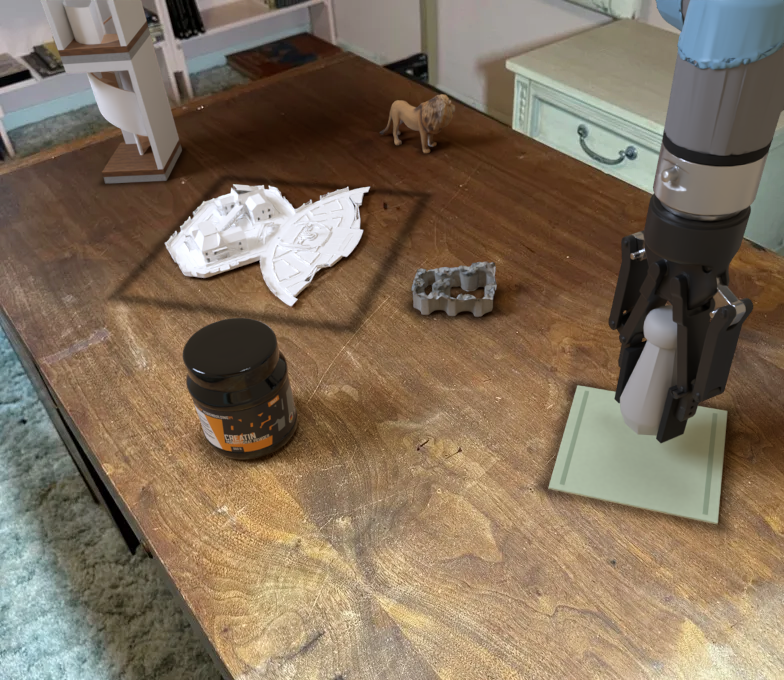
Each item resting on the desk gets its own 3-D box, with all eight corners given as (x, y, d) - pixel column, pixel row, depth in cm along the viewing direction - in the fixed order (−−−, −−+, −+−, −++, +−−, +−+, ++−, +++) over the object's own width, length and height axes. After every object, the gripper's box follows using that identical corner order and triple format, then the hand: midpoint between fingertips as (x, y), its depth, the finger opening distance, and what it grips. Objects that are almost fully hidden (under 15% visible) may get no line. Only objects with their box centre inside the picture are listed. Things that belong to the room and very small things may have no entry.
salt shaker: (678, 444, 74) (710, 337, 65) (617, 440, 75) (640, 334, 65) (673, 403, 78) (702, 296, 69) (615, 400, 79) (636, 294, 69)
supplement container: (193, 461, 83) (161, 377, 74) (221, 396, 90) (195, 312, 81) (287, 467, 81) (266, 381, 72) (308, 400, 88) (291, 314, 80)
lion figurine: (460, 145, 131) (459, 91, 124) (444, 158, 128) (443, 103, 121) (387, 131, 137) (383, 78, 130) (371, 143, 134) (366, 89, 127)
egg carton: (498, 287, 101) (499, 260, 98) (491, 321, 96) (492, 294, 93) (419, 282, 103) (418, 255, 100) (408, 315, 98) (406, 288, 95)
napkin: (577, 387, 87) (577, 384, 86) (726, 412, 82) (727, 410, 82) (548, 489, 77) (548, 487, 76) (717, 525, 72) (717, 522, 72)
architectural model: (130, 286, 106) (120, 259, 103) (231, 176, 127) (226, 151, 124) (316, 310, 99) (312, 282, 96) (391, 189, 120) (389, 163, 117)
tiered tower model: (124, 153, 138) (48, -79, 112) (182, 150, 137) (118, -84, 112) (105, 183, 130) (19, -59, 105) (166, 180, 129) (94, -64, 104)
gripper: (588, 163, 64) (562, 374, 81) (752, 270, 52) (681, 492, 69) (661, 141, 66) (620, 352, 83) (835, 239, 54) (746, 463, 71)
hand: (648, 415), depth 76 cm, fingers closed on salt shaker, 6 cm apart
